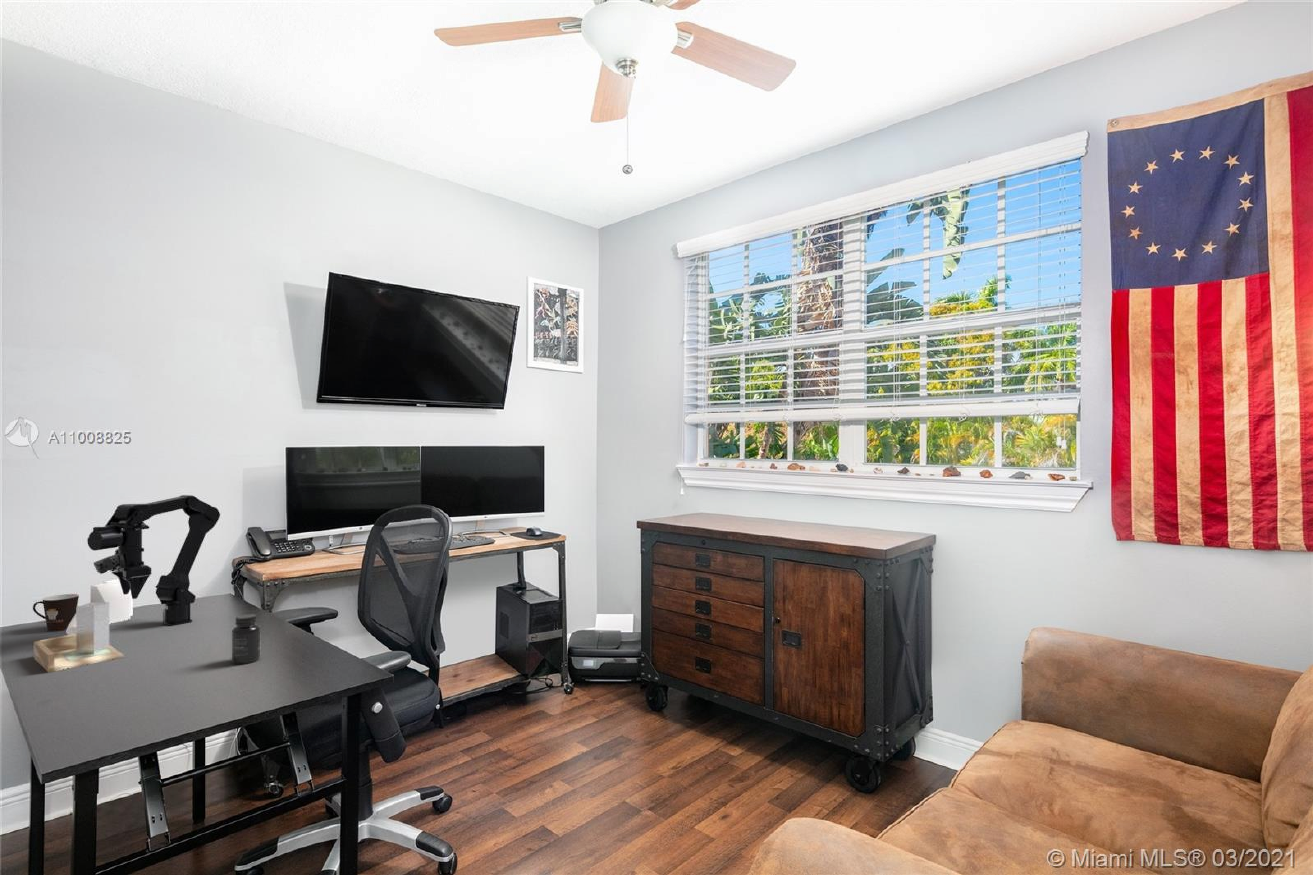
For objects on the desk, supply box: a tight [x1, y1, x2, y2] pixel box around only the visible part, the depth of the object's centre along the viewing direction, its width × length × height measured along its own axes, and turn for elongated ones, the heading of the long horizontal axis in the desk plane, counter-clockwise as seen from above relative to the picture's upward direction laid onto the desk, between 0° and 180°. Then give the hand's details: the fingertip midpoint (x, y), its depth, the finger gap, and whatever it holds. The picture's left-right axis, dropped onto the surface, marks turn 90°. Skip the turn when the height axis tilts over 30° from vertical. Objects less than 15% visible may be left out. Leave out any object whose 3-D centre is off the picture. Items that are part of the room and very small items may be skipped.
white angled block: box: [90, 578, 134, 625], centre depth 224 cm, size 11×11×12 cm
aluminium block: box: [76, 602, 110, 654], centre depth 188 cm, size 5×5×13 cm
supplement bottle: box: [230, 613, 262, 665], centre depth 182 cm, size 7×7×12 cm
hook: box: [65, 614, 76, 636], centre depth 201 cm, size 8×12×7 cm
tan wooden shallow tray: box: [33, 634, 125, 674], centre depth 184 cm, size 16×19×4 cm
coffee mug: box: [32, 593, 80, 633], centre depth 213 cm, size 12×9×10 cm
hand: (130, 596), depth 205 cm, fingers open, 9 cm apart
